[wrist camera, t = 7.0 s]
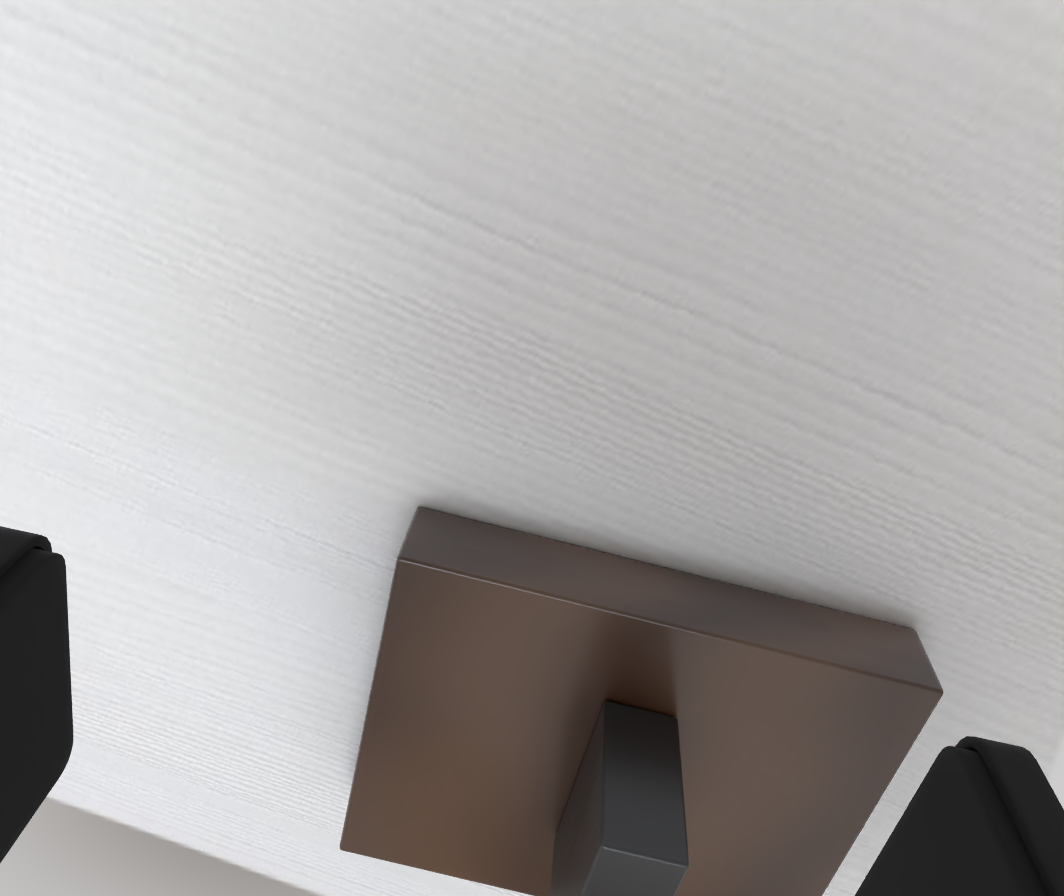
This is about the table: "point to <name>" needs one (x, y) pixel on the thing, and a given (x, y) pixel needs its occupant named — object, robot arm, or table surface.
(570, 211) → the table surface
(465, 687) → the plate
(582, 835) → the lock knob
